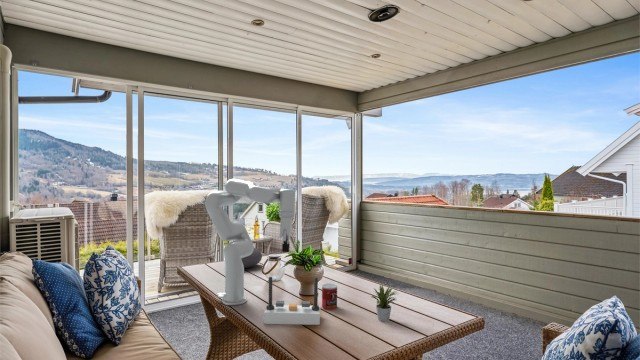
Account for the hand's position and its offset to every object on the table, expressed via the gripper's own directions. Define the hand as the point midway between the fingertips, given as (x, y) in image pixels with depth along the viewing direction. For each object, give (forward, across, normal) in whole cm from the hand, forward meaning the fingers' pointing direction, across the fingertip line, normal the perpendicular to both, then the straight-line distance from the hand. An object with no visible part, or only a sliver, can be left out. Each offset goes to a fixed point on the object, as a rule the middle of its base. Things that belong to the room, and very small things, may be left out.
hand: (285, 251), depth 178 cm
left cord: (+25, +10, -5) cm, 27 cm away
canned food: (+29, -8, +22) cm, 38 cm away
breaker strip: (+29, +10, +6) cm, 31 cm away
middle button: (+24, +10, +6) cm, 27 cm away
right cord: (+24, +10, +16) cm, 30 cm away
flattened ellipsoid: (+32, -84, -40) cm, 99 cm away
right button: (+23, +10, +12) cm, 27 cm away
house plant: (+28, +8, +48) cm, 56 cm away
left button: (+23, +10, 0) cm, 25 cm away
